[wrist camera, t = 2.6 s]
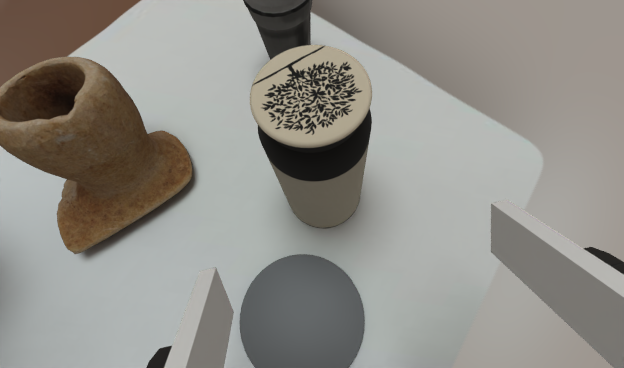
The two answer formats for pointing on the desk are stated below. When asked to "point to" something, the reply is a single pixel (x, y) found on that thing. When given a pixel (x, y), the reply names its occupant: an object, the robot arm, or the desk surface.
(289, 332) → the mat
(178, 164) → the stone cup
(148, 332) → the desk surface
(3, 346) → the desk surface
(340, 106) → the travel mug
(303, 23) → the beverage cup
